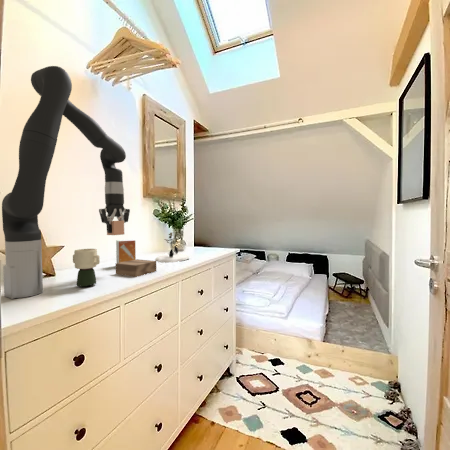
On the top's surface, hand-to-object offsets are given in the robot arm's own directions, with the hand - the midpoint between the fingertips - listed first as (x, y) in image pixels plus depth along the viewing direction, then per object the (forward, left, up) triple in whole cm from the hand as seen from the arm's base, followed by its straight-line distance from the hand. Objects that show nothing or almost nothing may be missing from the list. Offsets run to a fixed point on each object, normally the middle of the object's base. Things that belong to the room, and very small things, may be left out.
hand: (115, 232), depth 114 cm
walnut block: (+5, -6, -18) cm, 20 cm away
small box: (+13, +12, -18) cm, 25 cm away
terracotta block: (0, 0, -1) cm, 1 cm away
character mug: (-19, -9, -18) cm, 28 cm away
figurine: (+40, +6, -18) cm, 45 cm away
